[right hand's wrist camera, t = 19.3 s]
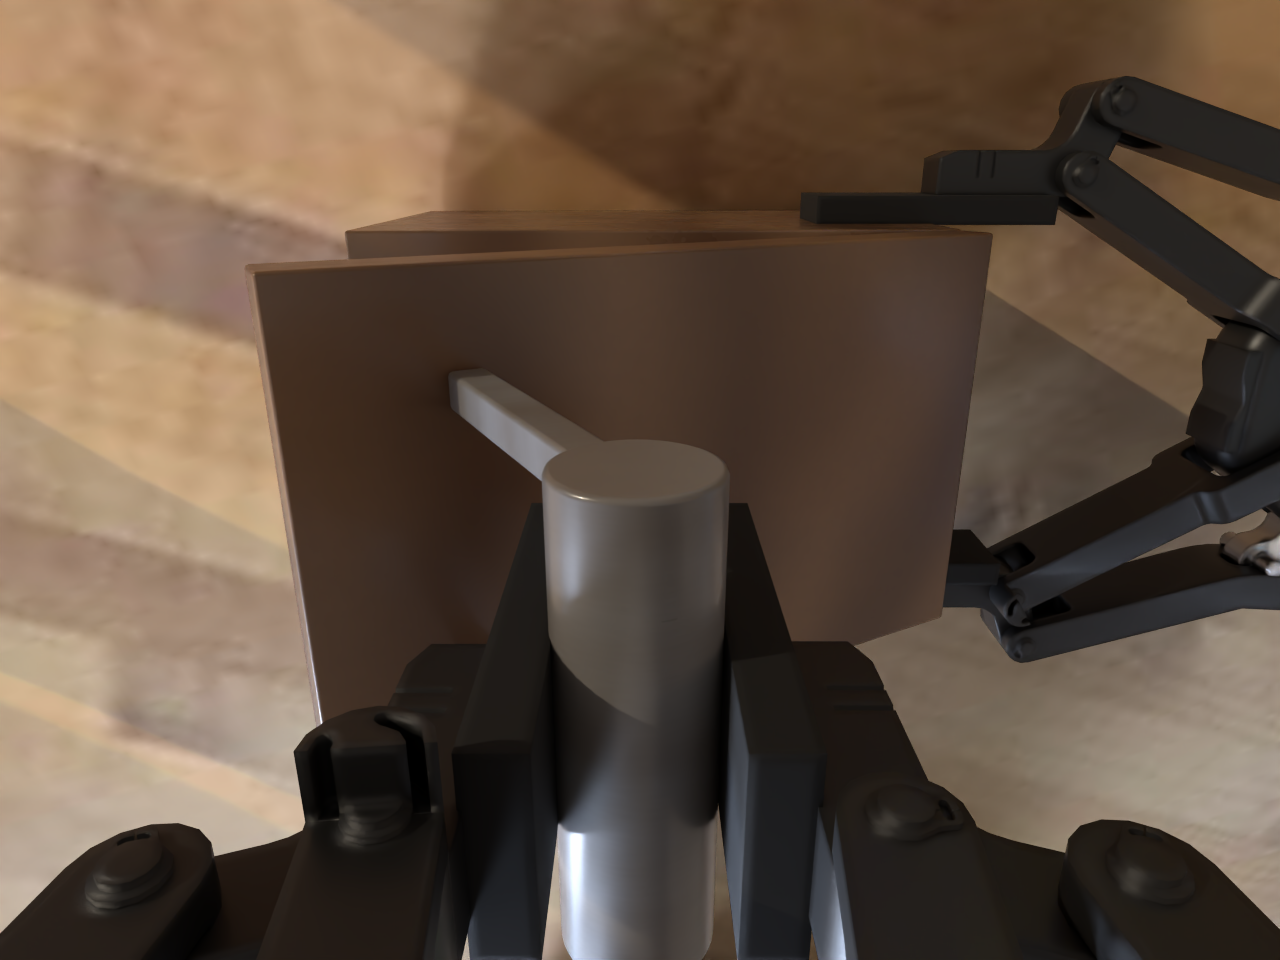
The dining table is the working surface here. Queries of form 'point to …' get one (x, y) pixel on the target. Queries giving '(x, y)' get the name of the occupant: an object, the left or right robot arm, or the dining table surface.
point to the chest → (586, 230)
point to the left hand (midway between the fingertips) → (796, 394)
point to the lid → (619, 495)
